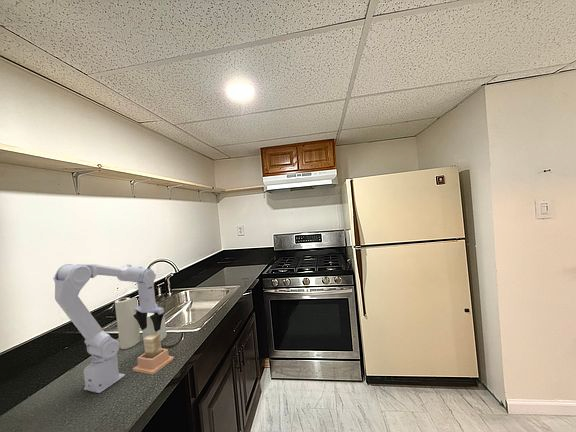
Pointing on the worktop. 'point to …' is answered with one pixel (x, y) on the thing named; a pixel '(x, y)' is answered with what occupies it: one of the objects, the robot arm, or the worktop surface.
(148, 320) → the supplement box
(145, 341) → the birch peg
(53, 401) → the worktop surface
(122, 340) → the paper towel roll
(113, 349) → the robot arm
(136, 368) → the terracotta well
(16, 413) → the worktop surface
